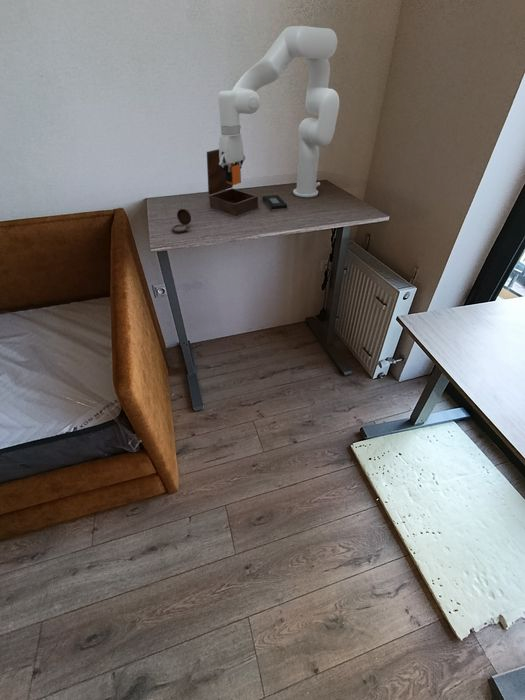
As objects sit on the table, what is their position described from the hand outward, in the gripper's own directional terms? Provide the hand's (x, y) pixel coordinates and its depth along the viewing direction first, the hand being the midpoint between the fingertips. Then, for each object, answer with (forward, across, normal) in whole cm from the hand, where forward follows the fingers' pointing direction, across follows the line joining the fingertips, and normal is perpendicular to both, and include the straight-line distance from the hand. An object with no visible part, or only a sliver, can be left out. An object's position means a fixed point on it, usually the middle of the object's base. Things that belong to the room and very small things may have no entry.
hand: (233, 179), depth 144 cm
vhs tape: (+13, -16, +10) cm, 23 cm away
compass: (+12, +31, +2) cm, 33 cm away
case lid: (-2, 0, -7) cm, 8 cm away
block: (+1, 0, 0) cm, 1 cm away
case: (+12, +1, 0) cm, 12 cm away
